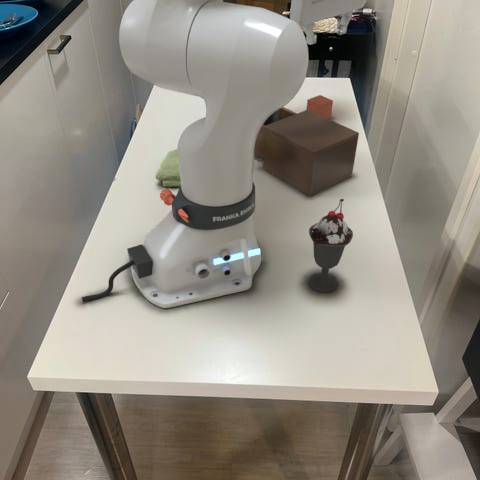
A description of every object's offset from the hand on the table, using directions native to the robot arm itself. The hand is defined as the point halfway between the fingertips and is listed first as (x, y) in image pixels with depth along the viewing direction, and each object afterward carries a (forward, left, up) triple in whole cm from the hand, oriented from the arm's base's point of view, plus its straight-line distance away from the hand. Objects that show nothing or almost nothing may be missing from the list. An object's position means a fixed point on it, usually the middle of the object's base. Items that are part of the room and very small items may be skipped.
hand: (326, 38), depth 113 cm
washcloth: (-38, -10, -19) cm, 43 cm away
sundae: (-36, -52, -19) cm, 66 cm away
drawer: (-20, -9, -17) cm, 28 cm away
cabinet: (-18, -21, -18) cm, 33 cm away
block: (0, 0, -18) cm, 18 cm away
